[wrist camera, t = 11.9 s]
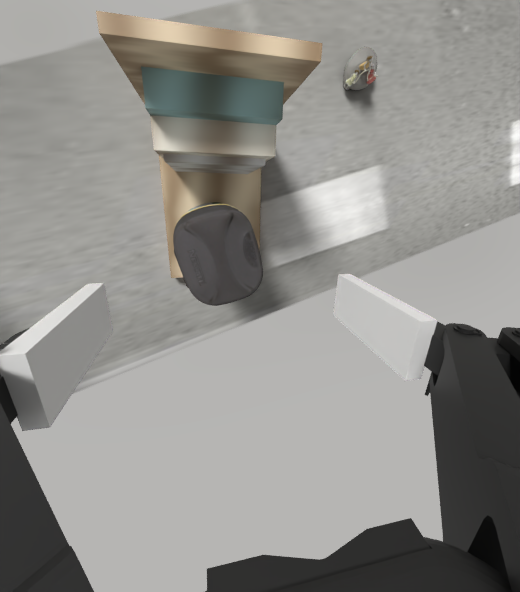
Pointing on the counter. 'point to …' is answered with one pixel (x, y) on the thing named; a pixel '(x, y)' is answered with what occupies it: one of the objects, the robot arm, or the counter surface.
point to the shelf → (209, 106)
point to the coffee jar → (217, 253)
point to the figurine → (360, 69)
